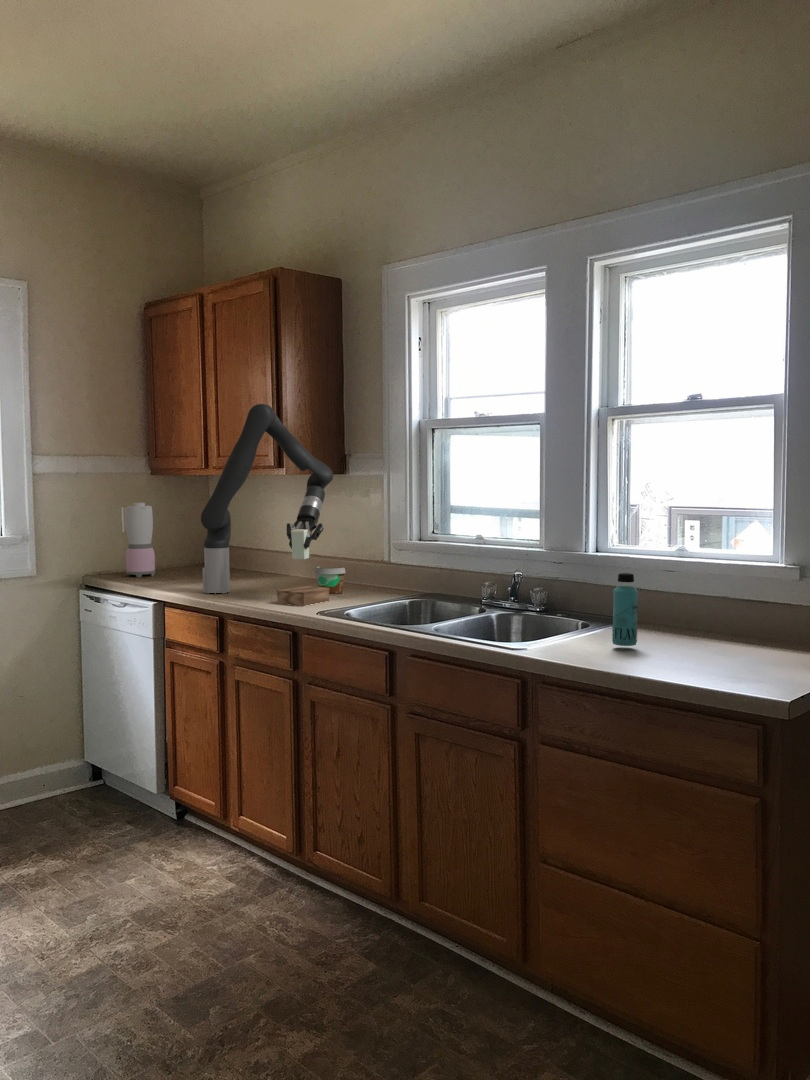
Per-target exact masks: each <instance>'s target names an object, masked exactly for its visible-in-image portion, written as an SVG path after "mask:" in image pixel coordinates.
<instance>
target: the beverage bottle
mask: <svg viewBox="0 0 810 1080" xmlns="http://www.w3.org/2000/svg"><path fill="white" fill-rule="evenodd" d="M634 576H635V575H634V574H633V573H629V572H622V573H618V574H617V582H619V583H634V582H635V577H634ZM638 594H639V591H638V590H637V588H636V587H635V586H633V585H617V586H616V587H615V588H614V589H613V605H612V607H613V608H612V609H613V611H612V628H611V629H612V634H611V635H612V637H611V641H612V644H613V645H615V646H621V647H632V646H636V645H637V642H638V631H639V630H638V613H639V612H638V608H639V603H638Z"/></svg>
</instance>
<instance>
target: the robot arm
mask: <svg viewBox="0 0 810 1080" xmlns="http://www.w3.org/2000/svg"><path fill="white" fill-rule="evenodd" d="M265 433H266V434H268V435H269V436H270V437H271V438H272V439H273V440H274V441H275V442H276V443H277V445H278V446H279V447H280V449H281V450H282V451H283V453H284V454H285V455H286V456H287V458H288V459H289V460H290V461H291V463H293V464H294V465H295V466H296V467H297V469H298V470H299V471H301V472H305V471H306V470H309V471H310V472H312V473H311V475H310V476H309V477H308V479H307V482H306V492H305V495H304V497H303V500H302V502H301V505H300V507H299V510H298V513H297V516H296V520H295V522H294V523H292V524H291V523H289V522H288V523H286V536H287V538H288V540H289V542H288V545H289V548H290V549H291V550H292V535H291V530H298V529H306V530H308V532H307V537H306V539H305V542H304V548H305V549H307V548H308V547H309V548H310V546H311V542H312V541H317V540H318V538H319V537H320V535H321V534H322V532H323V531H324V526H323V523H319V522H318V521H319V519H320V516H321V513H322V509H323V504H324V503H323V502H324V500H325V496H326V492H325V490H324V489H325V488H326V487H327V486H328V485H329V484H330V483H331V482H332V481H333V479H334V473H333V470H332V469H331V467H329V466H328V465H327V464H325V463H324V462H323V461H321V460H319V459H318V458H316V457H314V456H313V455H312V454H311V453H310V451H309V450H308V449H306V448H305V447H304V446H303V445H302V443H301V442H300V441H298V440H297V438H296V437H295V436H294V435H293V434H292V433H291V432H290V431H289V430H288V428H287V427H286V426H285V425H284V424H283V423H282V421H281V420H280V417H278V415H277V413H276V412H275V409H273V407H271V406H270V405H269V404H265V403H257V404H255V405H253V406H252V407H251V408H250V409H249V411H248V413H247V416H246V420H245V422H244V425H243V427H242V430H241V434H240V436H239V438H238V440H237V441H236V442H235V445H234V446H233V447H232V450H231V452H230V454H229V456H228V458H227V460H226V463H225V464H224V467H223V469H222V472H221V474H220V476H219V479H218V481H217V483H216V485H215V488H214V491H213V493H212V495H211V497H210V498H209V500H207V503H206V504H205V506H204V508H203V510H202V511H201V514H200V523H201V525H202V527H204V529H206V530H207V531H206V532H207V535H206V537H205V539H204V541H203V550H204V552H203V553H204V554H203V556H204V567H202V593H203V592H204V593H203V594H209V593H215V594H214V595H217V594H216V593H222V594H226V593H227V592H228V593H231V583H230V582H231V580H230V577H231V576H230V541H231V532H232V531H231V530H232V527H231V526H232V523H231V522H232V519H231V517H232V516H231V513H230V511H229V506H230V503H231V501H232V499H233V498H234V496H235V495H236V494H237V493H238V491H239V490H240V489H241V488H242V486H243V485H244V484H245V482H246V481H247V479H248V476H249V474H250V473H251V470H252V468H253V466H254V463H255V459H256V455H257V449H258V447H259V444H260V442H261V440H262V438H263V436H264V435H265ZM228 593H227V594H228Z"/></svg>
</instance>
